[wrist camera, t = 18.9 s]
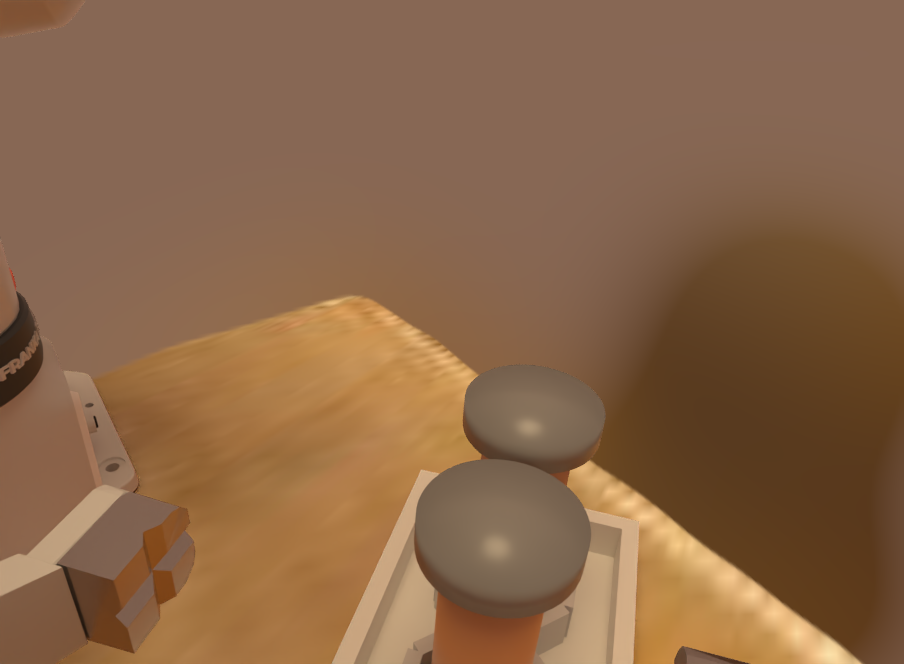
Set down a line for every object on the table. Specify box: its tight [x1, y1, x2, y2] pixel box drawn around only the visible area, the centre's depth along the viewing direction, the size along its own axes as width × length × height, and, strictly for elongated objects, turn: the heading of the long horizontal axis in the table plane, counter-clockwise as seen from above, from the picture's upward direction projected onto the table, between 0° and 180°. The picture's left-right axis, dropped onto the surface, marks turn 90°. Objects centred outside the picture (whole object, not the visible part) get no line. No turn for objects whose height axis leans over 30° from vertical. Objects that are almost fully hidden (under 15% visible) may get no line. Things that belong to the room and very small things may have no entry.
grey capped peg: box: [463, 365, 605, 486], centre depth 36 cm, size 7×7×14 cm
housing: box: [332, 470, 639, 664], centre depth 36 cm, size 20×14×4 cm
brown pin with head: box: [414, 459, 591, 664], centre depth 29 cm, size 7×7×14 cm
